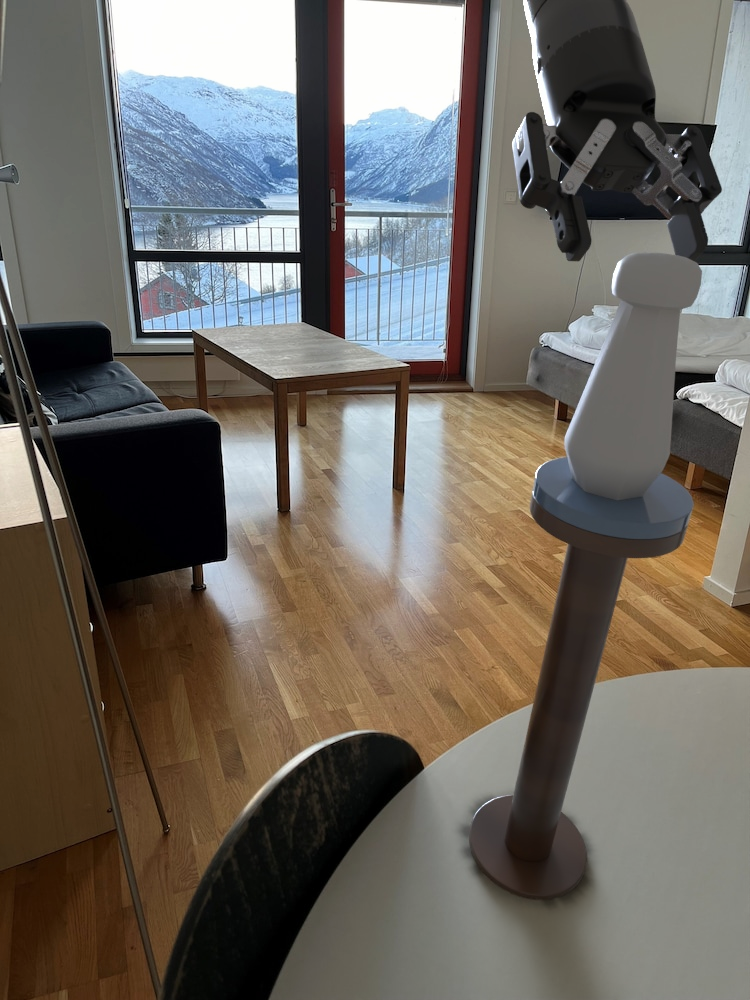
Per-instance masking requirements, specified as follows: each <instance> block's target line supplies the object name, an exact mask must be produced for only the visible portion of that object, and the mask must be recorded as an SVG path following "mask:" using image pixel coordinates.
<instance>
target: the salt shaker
mask: <svg viewBox="0 0 750 1000" xmlns="http://www.w3.org/2000/svg"><path fill="white" fill-rule="evenodd" d="M702 278H703V270H702V268H701V267H700V265H699V264H698V262H696V261H692V260H690V259H688V258H686V257H682V256H678V255H675V254H671V253H664V252H656V251H655V252H653V251H640V252H633V253H629V254H627V255H625V256H624V257H623V258H622V259H620V260H619V261H618V262H617V263H616V267H615V269H614V271H613V274H612V282H611V293H612V295H613V296H614V297H615V298H617V299H618V300H620V301H619V303H618V307H617V309H616V311H615V314H614V316H613V319H612V321H611V323H610V326H609V328H608V331H607V333H606V336H605V338H604V341H603V343H602V345H601V348H600V349H599V353H598V355H597V356H596V357H597V358H596V360H595V363H594V364H593V368H592V369H591V372H590V374H589V377H588V380H587V382H586V385H585V387H584V389H583V392H582V394H581V397H580V399H579V401H578V404H577V406H576V408H575V411H574V414H573V415H572V419H571V420H570V423H569V425H568V427H567V431H566V433H565V436H564V449H565V450H564V451H565V454H566V457H567V459H568V463H569V467H570V471H571V475H572V479H573V480H574V481H575V482H576V483H577V484H578V485H579V486H580V487H581V488H582V489H583V490H584V491H585V492H588V493H591V494H595V495H599V496H603V497H606V498H610V499H614V500H622V499H629V498H635V497H642V496H643V495H644V493H645V492H646V491H647V490H648V488H649V487H650V486H651V484H652V483H653V482H654V481H655V479H656V478H657V477H658V476H659V474H660V473H662V472H663V471H664V469H665V467H666V464H667V463H668V460H669V458H670V456H671V444H672V443H671V442H672V429H673V427H672V426H673V411H674V398H675V397H674V395H675V381H676V363H677V362H676V361H677V352H678V351H677V350H678V349H677V348H678V341H679V340H678V339H679V328H680V317H681V310H684V309H688V308H690V307H693V305H694V303H695V302H696V300H697V298H698V295H699V292H700V289H701V286H702Z"/></svg>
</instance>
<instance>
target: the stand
mask: <svg viewBox="0 0 750 1000" xmlns="http://www.w3.org/2000/svg"><path fill="white" fill-rule="evenodd" d="M529 513H530V515H531V517H532V519H533V520H534V522H535V523H536V524H537V526H539V527H540V528H541V529H542V530H543V531H544V532H546V533H548V534H549V535H551V536H552V537H553V538H555V539H557V540H558V541H561V542H563V543H565V544H567V546H566V550H565V555H564V560H563V564H562V569H561V573H560V579H559V584H558V588H557V593H556V597H555V600H554V601H555V603H554V606H553V612H552V616H551V619H550V625H549V629H548V634H547V639H546V644H545V648H544V652H543V657H542V661H541V667H540V671H539V676H538V679H537V684H536V689H535V693H534V699H533V702H532V708H531V712H530V716H529V722H528V726H527V731H526V735H525V740H524V744H523V749H522V752H521V758H520V764H519V766H518V770H517V771H518V772H517V775H516V780H515V786H514V791H513V794H507V795H501V796H498V797H495V798H493V799H491V800H489V801H487V802H485V803H484V804H483V805H482V806H481V807H480V808H479V809H477V811H476V812H475V814H474V816H473V817H472V819H471V823H470V827H469V832H468V833H469V834H468V841H469V848H470V851H471V854H472V857H473V860H474V861H475V863H476V865H477V866H478V868H479V869H480V870H481V871H482V873H483V874H484V875H485V876H486V877H487V879H489V880H490V881H491V882H492V883H494V884H495V885H496V886H498V887H499V888H501V889H502V890H504V891H506V892H508V893H510V894H511V895H514V896H518V897H520V898H524V899H528V900H535V901H544V900H545V901H546V900H553V899H557V898H560V897H563V896H565V895H567V894H568V893H571V891H573V890H574V889H575V888H576V887H577V886H578V885H579V884H580V882H581V881H582V878H583V877H584V874H585V871H586V867H587V861H588V853H587V848H586V845H585V841H584V838H583V836H582V834H581V833H580V831H579V829H578V827H577V826H576V825H575V824H574V822H573V821H572V820H571V819H570V817H568V816H567V814H565V813H563V811H562V810H563V806H564V803H565V798H566V794H567V791H568V787H569V783H570V779H571V776H572V773H573V772H572V771H573V768H574V764H575V761H576V756H577V753H578V749H579V745H580V742H581V737H582V733H583V730H584V726H585V723H586V718H587V715H588V711H589V707H590V703H591V699H592V696H593V692H594V688H595V684H596V681H597V676H598V672H599V670H600V666H601V662H602V659H603V657H602V656H603V654H604V650H605V646H606V642H607V639H608V634H609V631H610V627H611V623H612V619H613V616H614V612H615V609H616V605H617V600H618V596H619V593H620V590H621V585H622V582H623V577H624V574H625V571H626V566H627V562H628V559H649V558H656V557H657V558H658V557H662V556H665V555H668V554H671V553H672V552H675V551H676V550H677V549H678V548H680V547H681V545H682V544H683V543H684V540H685V537H686V533H687V530H688V527H689V523H690V522H689V523H688V525H687V526H686V527H685V529H683V530H682V531H681V532H679V533H677V534H675V535H671V536H668V537H664V538H658V539H626V538H617V537H612V536H606V535H602V534H597V533H594V532H590V531H587V530H584V529H581V528H578V527H575V526H573V525H571V524H568V523H566V522H564V521H562V520H560V519H558V518H557V517H555V516H553V515H552V514H550V513H549V512H548V511H546V510H545V509H544V508H543V507H542V506H541V505H540V504H539V503H538V502H537V500H536V498H535V496H534V493H533V490H532V491H531V498H530V502H529Z"/></svg>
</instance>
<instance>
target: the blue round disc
mask: <svg viewBox="0 0 750 1000" xmlns="http://www.w3.org/2000/svg"><path fill="white" fill-rule="evenodd" d="M534 475H535V476H534V480H533V486H532V491H533V493H534V496H535V498H536V500H537V502H538V503H539V504H540V505H541V506H542V507H543V508H544V509H545V510H546V511H548V512H549V513H550V514H552V515H553V516H555V517H557V518H558V519H560V520H562V521H564V522H566V523H568V524H571V525H573V526H575V527H578V528H581V529H584V530H587V531H590V532H594V533H597V534H602V535H606V536H612V537H617V538H626V539H658V538H664V537H668V536H671V535H675V534H677V533H679V532H681V531H682V530H683V529H685V527H686V526H687V525H688V526H689V524H688V523H690V521H691V516H692V513H693V510H694V500H693V496H692V495H691V494H690V492H689V490H687V488H686V487H684V486H683V485H682V484H681V483H679V482H678V481H676V480H675V479H673V478H671V477H670V476H668V475H666V474H664V473H662V472H661V473H660V474H659V476H658V477H657V478H656V479H655V481H654V482H653V483H652V484H651V486H650V487H649V488H648V490H647V491H646V492H645V493H644V495H643V496H642V497H635V498H629V499H622V500H614V499H610V498H606V497H603V496H599V495H595V494H591V493H588V492H585V491H584V490H583V489H582V488H581V487H580V486H579V485H578V484H577V483H576V482H575V481H574V480H573V479H572V475H571V471H570V467H569V463H568V459H567V456H563V457H562V456H561V457H557V458H553V459H550V460H548V461H546V462H544V463H543V464H541V465H540V466H539V467H538V468H537V470H536V472H535V474H534Z"/></svg>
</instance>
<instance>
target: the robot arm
mask: <svg viewBox="0 0 750 1000" xmlns="http://www.w3.org/2000/svg"><path fill="white" fill-rule="evenodd" d="M523 6H524V12H525V18H526V20H527V26H528V29H529V34H530V37H531V38H530V39H531V45H532V59H533V61H532V62H533V67H534V70H535V76H536V79H537V83H538V89H539V94H540V98H541V102H542V103H541V104H542V107H543V111H544V115H545V120H546V124H545V123H544V121H543V119H542V118H543V117H542V116H541V115H540V114H539V113H537V112H534V111H529V112H527V113H526V114H525V116H524V118H523V120H522V123H521V124H520V127H519V128H518V130H517V132H516V134H515V137H514V138H513V140H512V143H511V147H512V152H513V160H514V168H515V175H516V183H517V188H518V196H519V201H520V204H521V206H522V207H524V208H526V209H530V210H531V209H532V210H533V209H534V208H536V206H537V207H540V208H542V209H545V212H546V214H547V215H548V216H549V217H551V222H552V226H553V230H554V234H555V239H556V244H557V247H558V249H559V251H560V252H561V253H562V254H565V258H566V260H567V261H568V262H581V260H582V259H583V258H584V256H585V255H586V254H587V252H588V251H589V250H590V248H591V246H592V235H591V231H590V227H589V222H588V218H587V214H586V209H585V205H584V201H583V197H582V196H581V195H576V194H577V192H578V191H579V189H580V186H582V184H584V185H586V186H588V187H590V188H591V189H590V190H591V191H593V192H603V191H609V190H612V191H615V192H619V193H628V194H630V193H632V194H633V195H634V196H635V197H636V198H637V199H638V200H639V202H641V203H642V204H643V205H644V206H654V207H655V208H656V209H657V210H658V211H659V212H660V213H661V214H662V215H663V216H664V217H665V218H666V219H667V220H668V221H667V223H666V225H667V226H666V227H667V229H668V233H669V238H670V240H671V244H672V248H673V252H674V255H678V256H682V257H686V258H688V259H690V260H692V261H694V262H696V261H697V260H698V258H700V256H702V254H704V252H705V250H706V247H707V246H708V245H709V236H708V233H707V230H706V229H707V228H706V227H705V223H704V220H703V216H702V214H703V213H704V211H705V210H706V209H707V208H708V207H709V205H710V204H711V203H712V202H713V201H714V200H715V199H717V197H719V196H720V194H721V193H722V192H723V187H722V184H721V182H720V179H719V176H718V173H717V170H716V168H715V165H714V163H713V159H712V158H711V155H710V151H709V148H708V146H707V144H706V140H705V137H704V135H703V132H702V131H701V129H700V127H698V126H696V125H692V124H691V125H688V126H687V128H686V129H684V131H683V133H681V134H675V133H674V134H673V133H672V134H670V133H669V134H668V133H666V132H665V130H664V129H663V128H662V126H660V124H659V123H658V121H657V120H656V101H657V94H656V93H657V92H656V91H657V90H656V87H655V83H654V80H653V76H652V73H651V70H650V66H649V62H648V59H647V56H646V52H645V48H644V45H643V42H642V38H641V34H640V30H639V27H638V24H637V20H636V18H635V14H634V12H633V10H632V8H631V6H630V4H629V3H628V1H627V0H523ZM549 147H550V150H551V151H552V153H553V154H554V155H555V157H557V158H558V159H559V160H560V162H562V164H564V166H565V167H567V168H568V171H567V172H566V174H565V175H564V177H563V179H562V180H561V181H559V180H556V179H553V178H552V174H551V167H550V161H549V155H548V149H549ZM655 166H656V167H657V168H658V169H659V173H660V174H659V176H658V178H657V179H656V180H655V182H654V183H653V184H650V183H649V182H647V179H648V177H649V176H650V174H651V173H652V172H653V170H654V168H655ZM698 184H700V186H698ZM668 187H669V188H671V190H673V191H674V192H675V194H677V195H678V197H677V199H676V200H675V199H674V198H672V197H671V196H670V195H669V194H668V193H667V188H668Z"/></svg>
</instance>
